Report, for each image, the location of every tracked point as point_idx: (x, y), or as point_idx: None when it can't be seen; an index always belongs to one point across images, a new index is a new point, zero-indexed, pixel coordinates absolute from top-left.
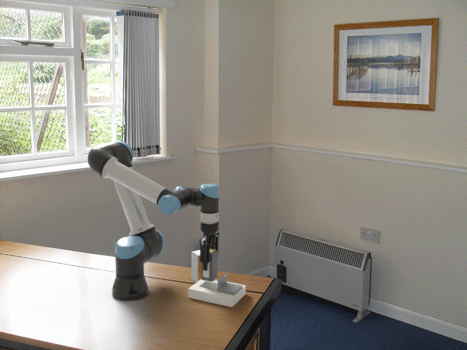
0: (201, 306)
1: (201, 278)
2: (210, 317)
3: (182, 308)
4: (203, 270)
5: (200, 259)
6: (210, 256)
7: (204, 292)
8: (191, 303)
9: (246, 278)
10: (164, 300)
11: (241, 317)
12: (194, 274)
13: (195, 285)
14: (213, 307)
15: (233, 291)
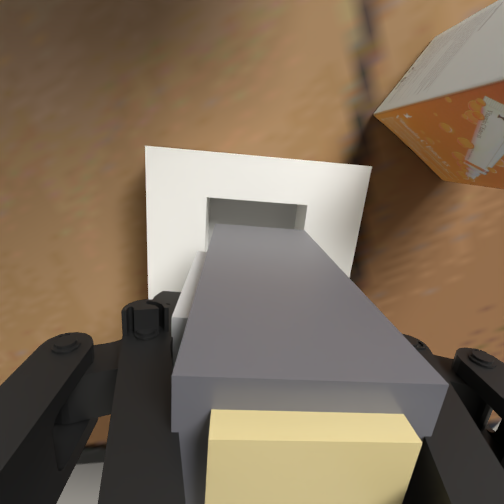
0: (100, 256)
1: (214, 226)
2: (23, 333)
3: (24, 174)
4: (188, 277)
5: (20, 374)
6: None
7: (148, 263)
8: (104, 195)
9: (486, 329)
10: (51, 11)
11: (97, 430)
12: (427, 65)
13: (215, 170)
14: (121, 309)
15: None
